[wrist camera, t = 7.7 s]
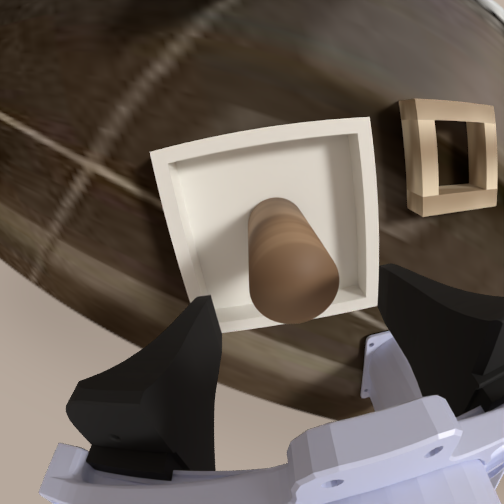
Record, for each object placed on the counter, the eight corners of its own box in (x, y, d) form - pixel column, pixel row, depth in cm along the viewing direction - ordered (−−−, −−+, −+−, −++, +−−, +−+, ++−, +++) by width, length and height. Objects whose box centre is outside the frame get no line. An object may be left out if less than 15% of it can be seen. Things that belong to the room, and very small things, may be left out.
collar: (479, 198, 21) (496, 205, 18) (407, 208, 21) (422, 217, 19) (475, 105, 17) (493, 106, 15) (398, 100, 18) (415, 98, 16)
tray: (367, 290, 24) (377, 305, 22) (204, 317, 25) (201, 335, 22) (356, 118, 19) (369, 117, 16) (160, 149, 19) (149, 152, 17)
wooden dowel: (305, 247, 22) (339, 316, 14) (251, 254, 22) (255, 329, 14) (301, 194, 20) (338, 237, 12) (244, 201, 20) (242, 250, 12)
